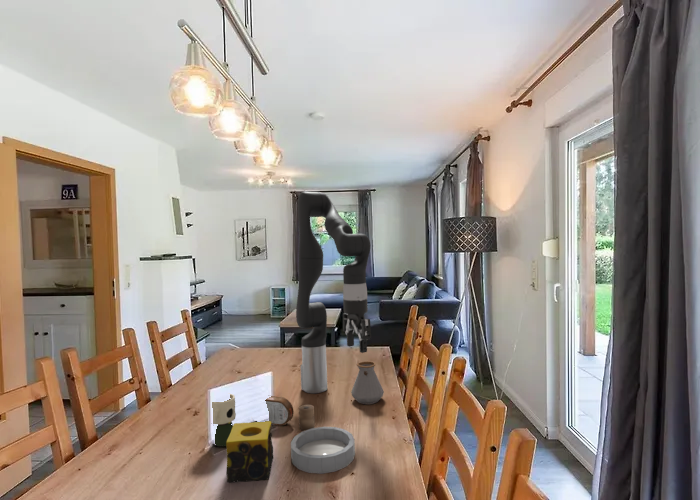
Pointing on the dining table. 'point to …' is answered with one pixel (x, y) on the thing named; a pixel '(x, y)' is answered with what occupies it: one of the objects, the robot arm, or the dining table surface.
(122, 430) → the dining table surface
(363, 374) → the coffee pot
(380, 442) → the dining table surface
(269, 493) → the dining table surface
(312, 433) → the round tray
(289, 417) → the tin
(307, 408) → the walnut bead
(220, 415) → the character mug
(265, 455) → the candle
